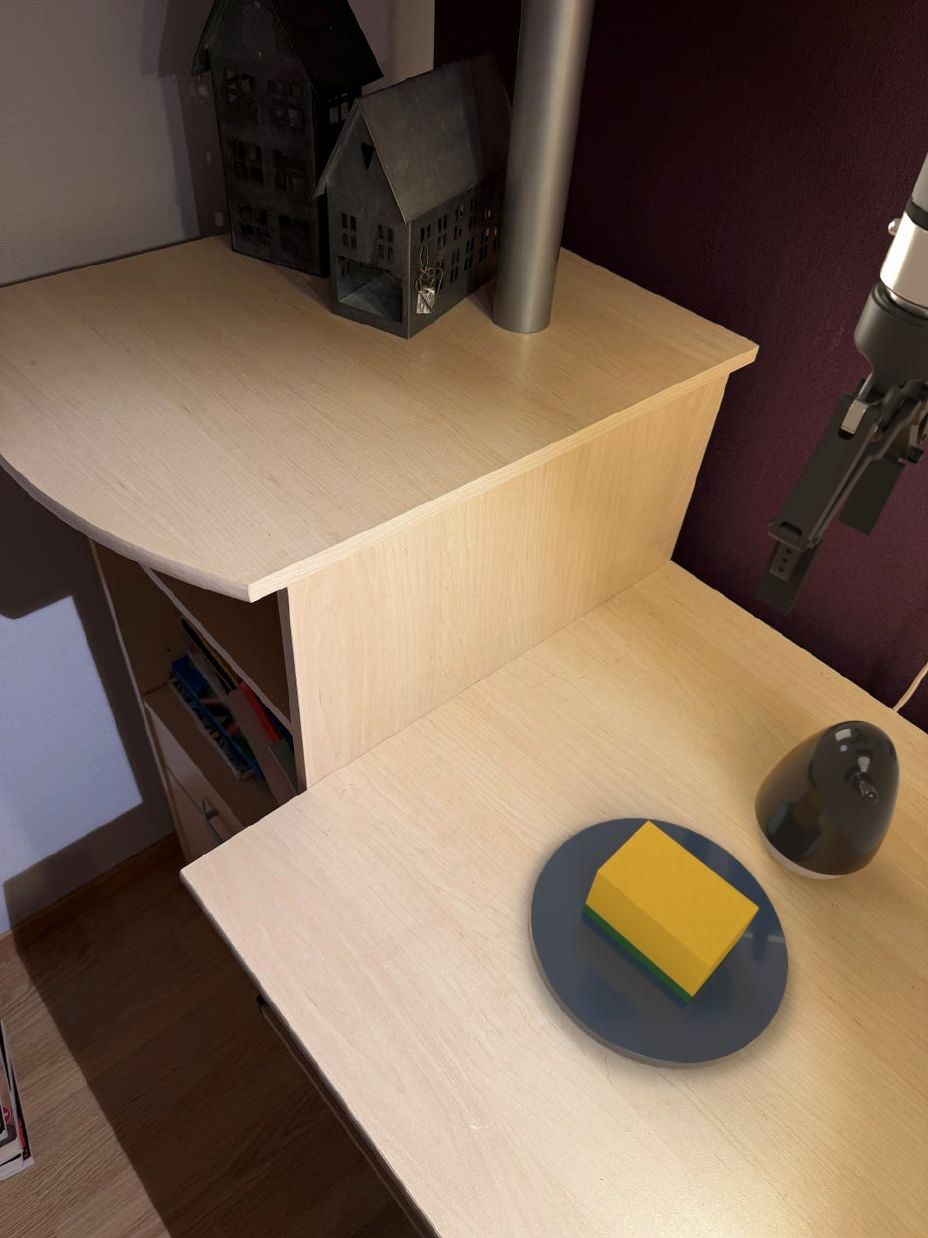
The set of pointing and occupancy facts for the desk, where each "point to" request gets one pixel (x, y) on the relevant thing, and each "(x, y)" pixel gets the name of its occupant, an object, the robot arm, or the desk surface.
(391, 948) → the desk surface
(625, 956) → the plate
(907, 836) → the desk surface
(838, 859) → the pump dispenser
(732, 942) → the sponge
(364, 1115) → the desk surface
